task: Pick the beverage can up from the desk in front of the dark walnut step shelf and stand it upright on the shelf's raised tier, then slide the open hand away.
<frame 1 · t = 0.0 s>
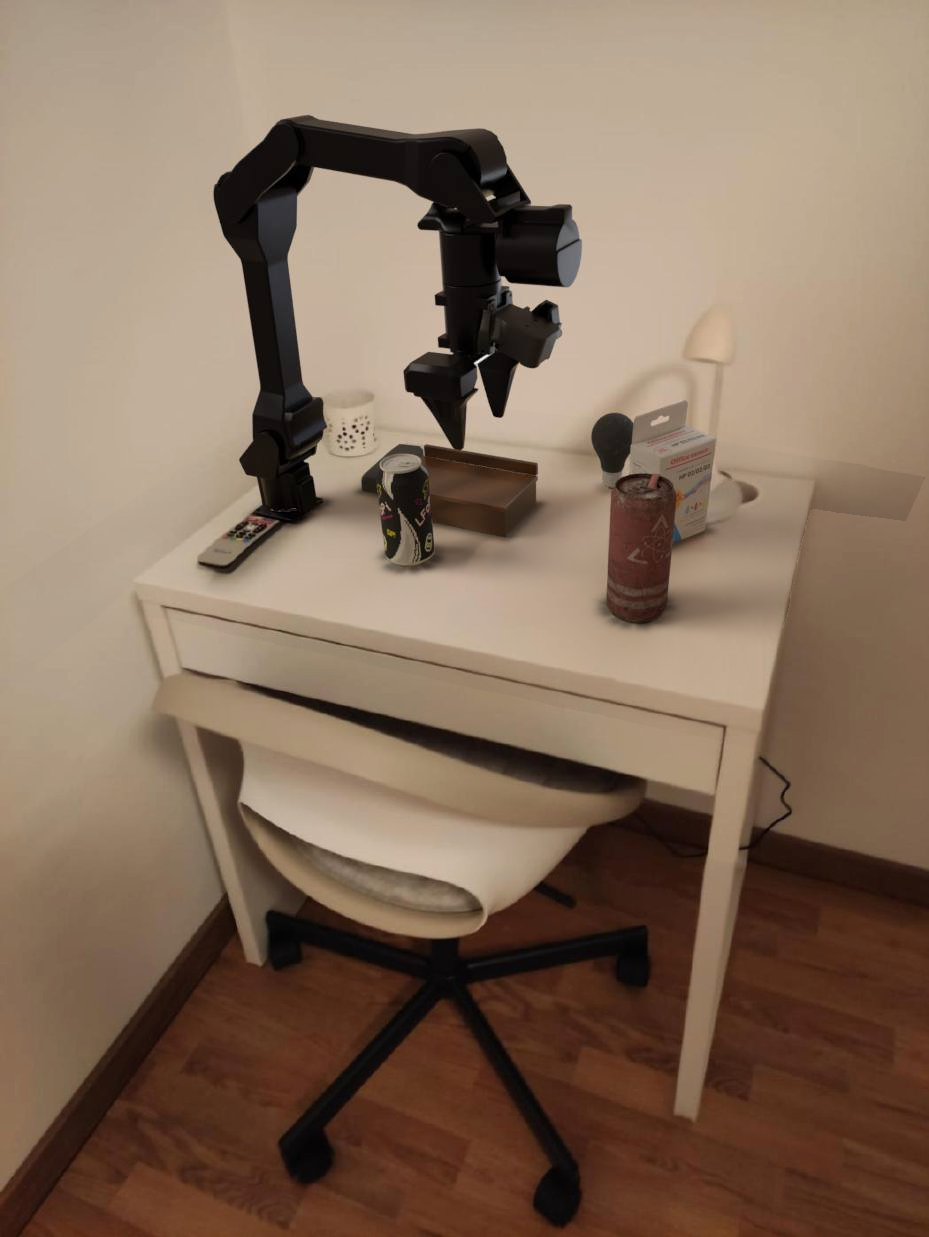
hand: (479, 432, 94), 15 cm above the table, tool pointing down, fingers open, 9 cm apart
can: (636, 608, 91), on the table
beverage can: (410, 559, 102), on the table
step shelf: (463, 509, 111), on the table
light bulb: (611, 489, 114), on the table
ink box: (665, 535, 103), on the table
usb drive: (399, 476, 120), on the table
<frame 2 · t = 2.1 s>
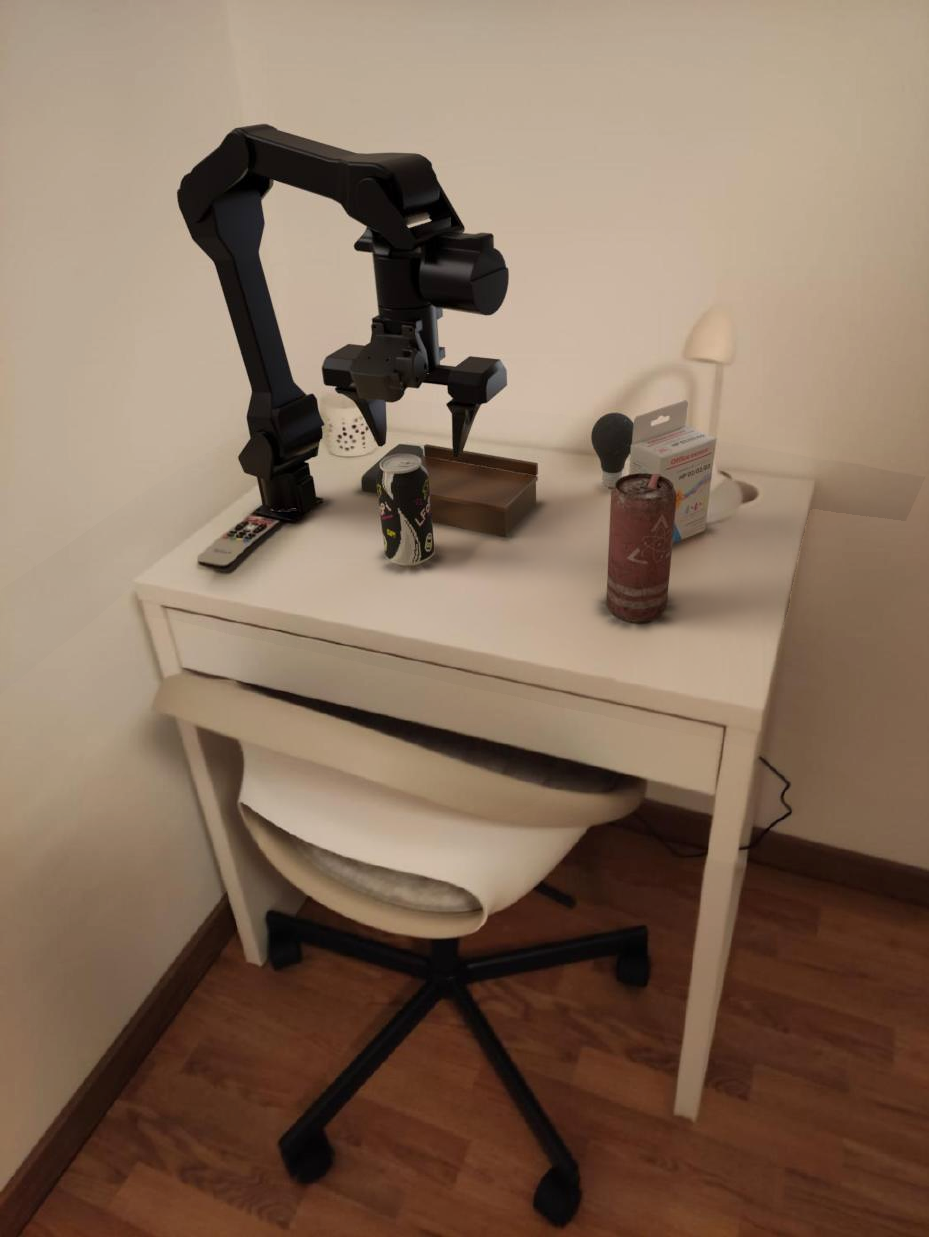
hand: (419, 450, 94), 13 cm above the table, tool pointing down, fingers open, 9 cm apart
nothing on the table moved.
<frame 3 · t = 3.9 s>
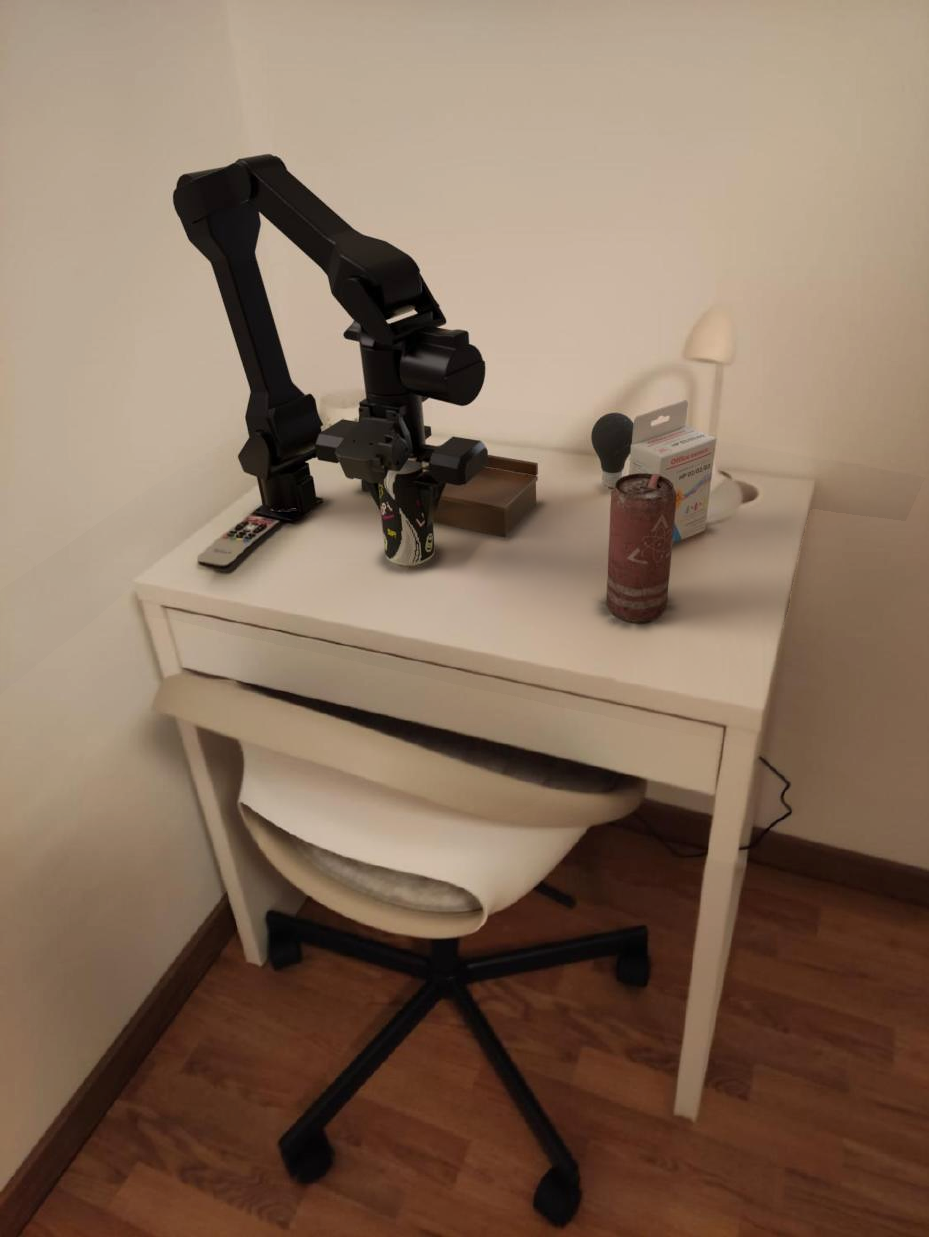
hand: (407, 521, 99), 5 cm above the table, tool pointing down, fingers closed on beverage can, 5 cm apart
beverage can: (410, 558, 102), on the table, touching gripper
everything else where it was.
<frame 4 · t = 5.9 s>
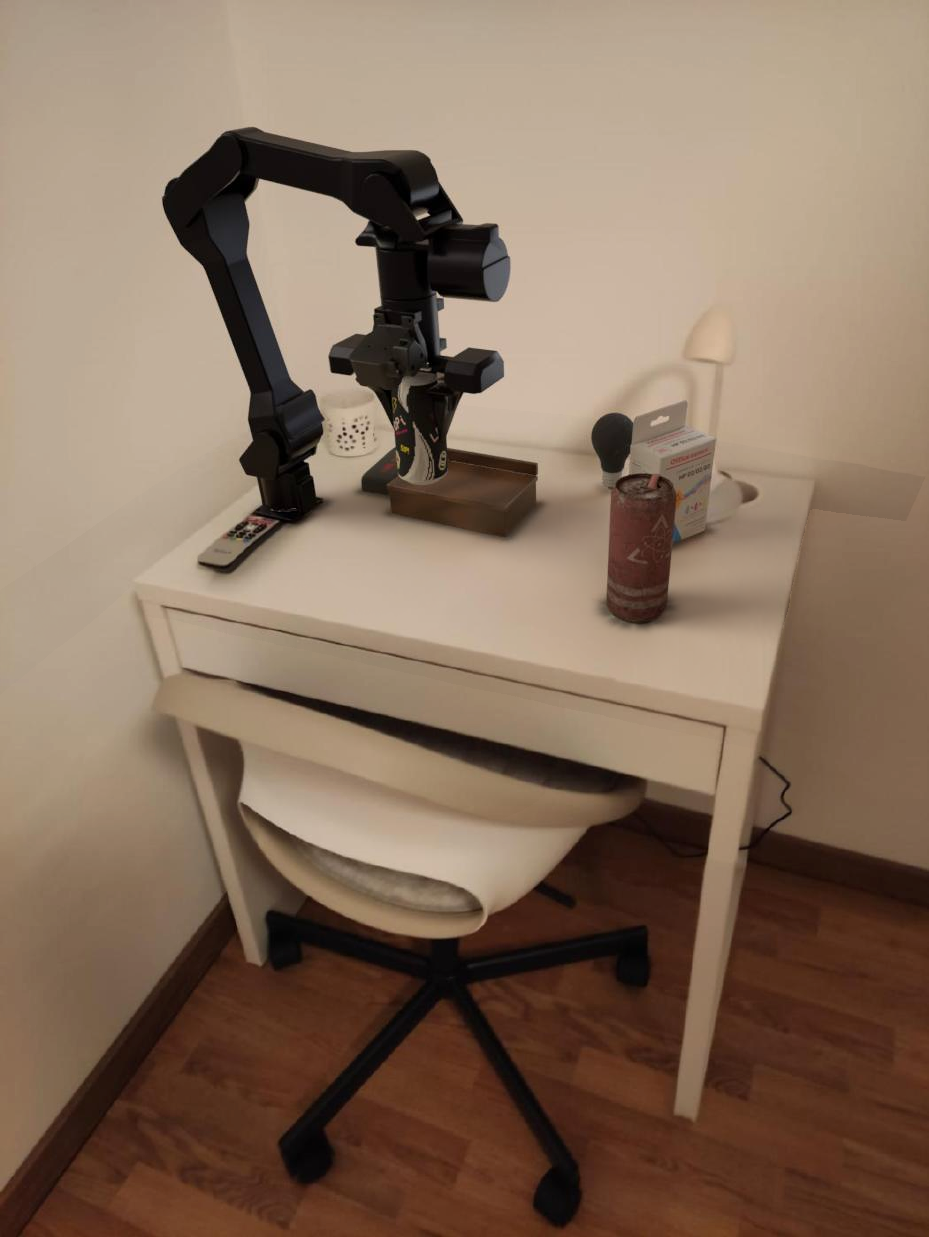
hand: (420, 438, 98), 13 cm above the table, tool pointing down, fingers closed on beverage can, 5 cm apart
beverage can: (423, 478, 100), point 8 cm above the table, touching gripper
everything else where it was.
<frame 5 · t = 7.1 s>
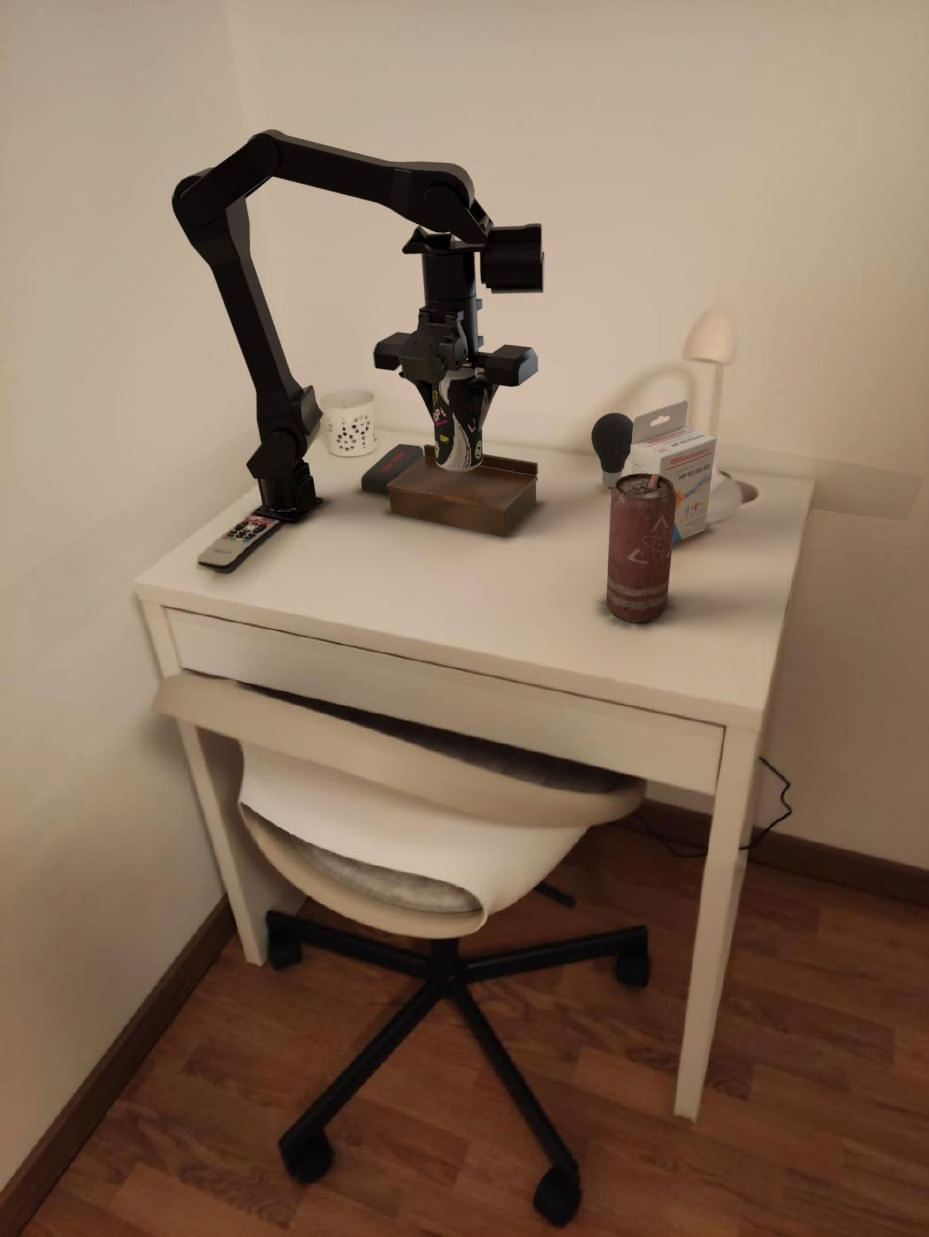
hand: (457, 429, 105), 11 cm above the table, tool pointing down, fingers closed on beverage can, 5 cm apart
beverage can: (459, 467, 108), point 6 cm above the table, touching gripper
everything else where it was.
when the fingers open (9 cm above the table, at t = 8.2 s): beverage can stays where it is, resting on step shelf.
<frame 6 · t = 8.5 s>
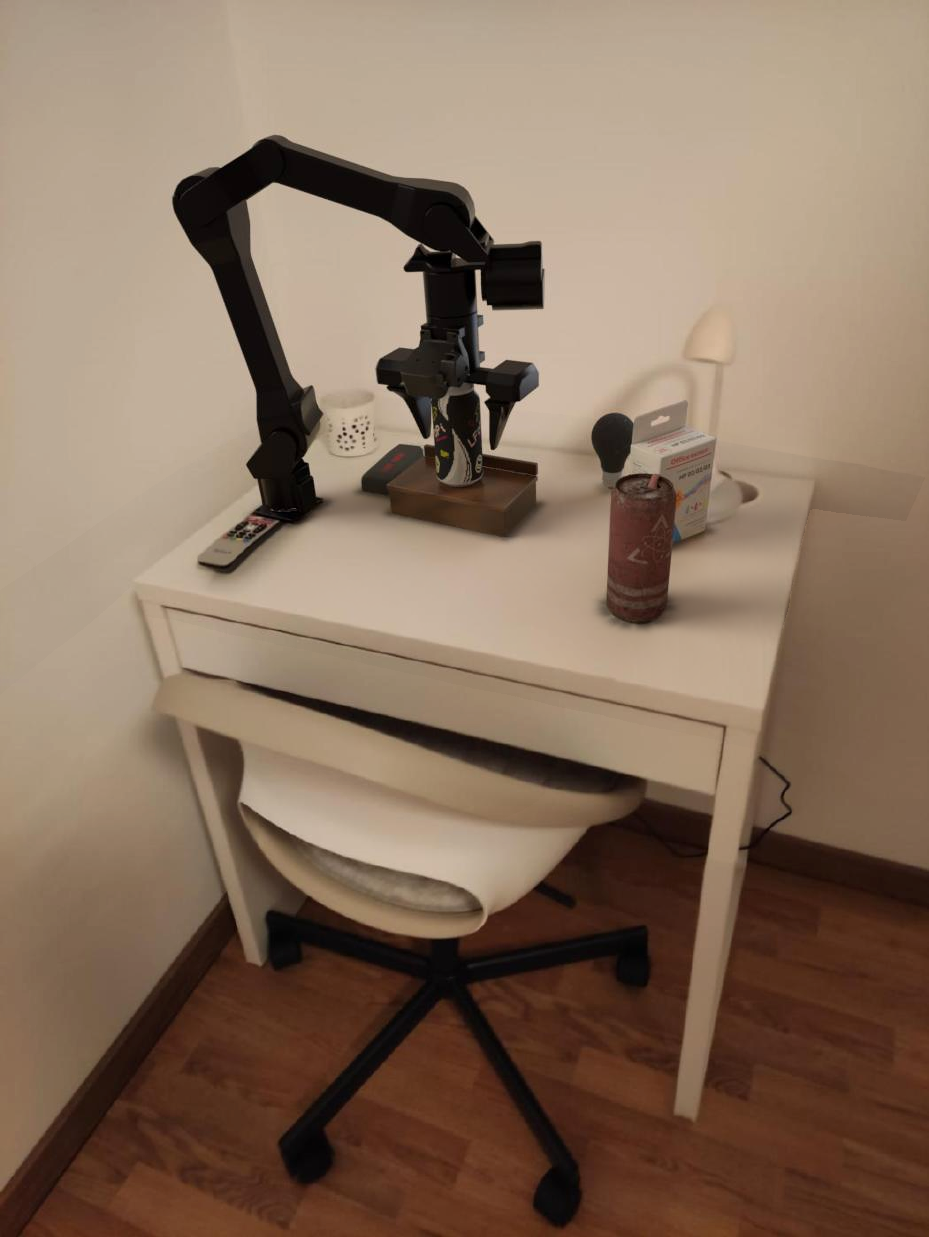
hand: (459, 443, 106), 9 cm above the table, tool pointing down, fingers open, 9 cm apart
beverage can: (460, 481, 109), point 4 cm above the table, touching step shelf
everything else where it was.
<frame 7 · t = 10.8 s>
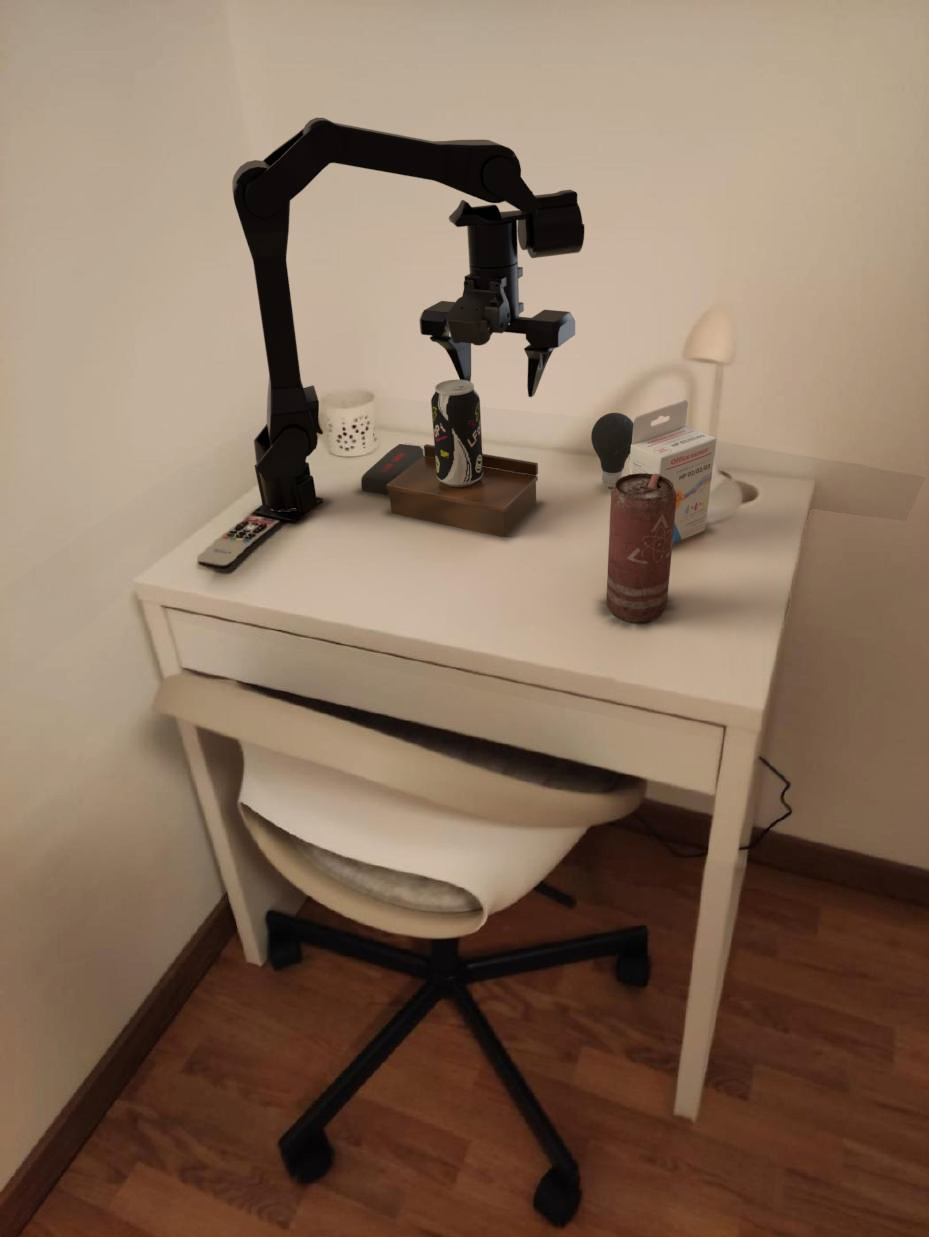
hand: (498, 391, 112), 12 cm above the table, tool pointing down, fingers open, 9 cm apart
nothing on the table moved.
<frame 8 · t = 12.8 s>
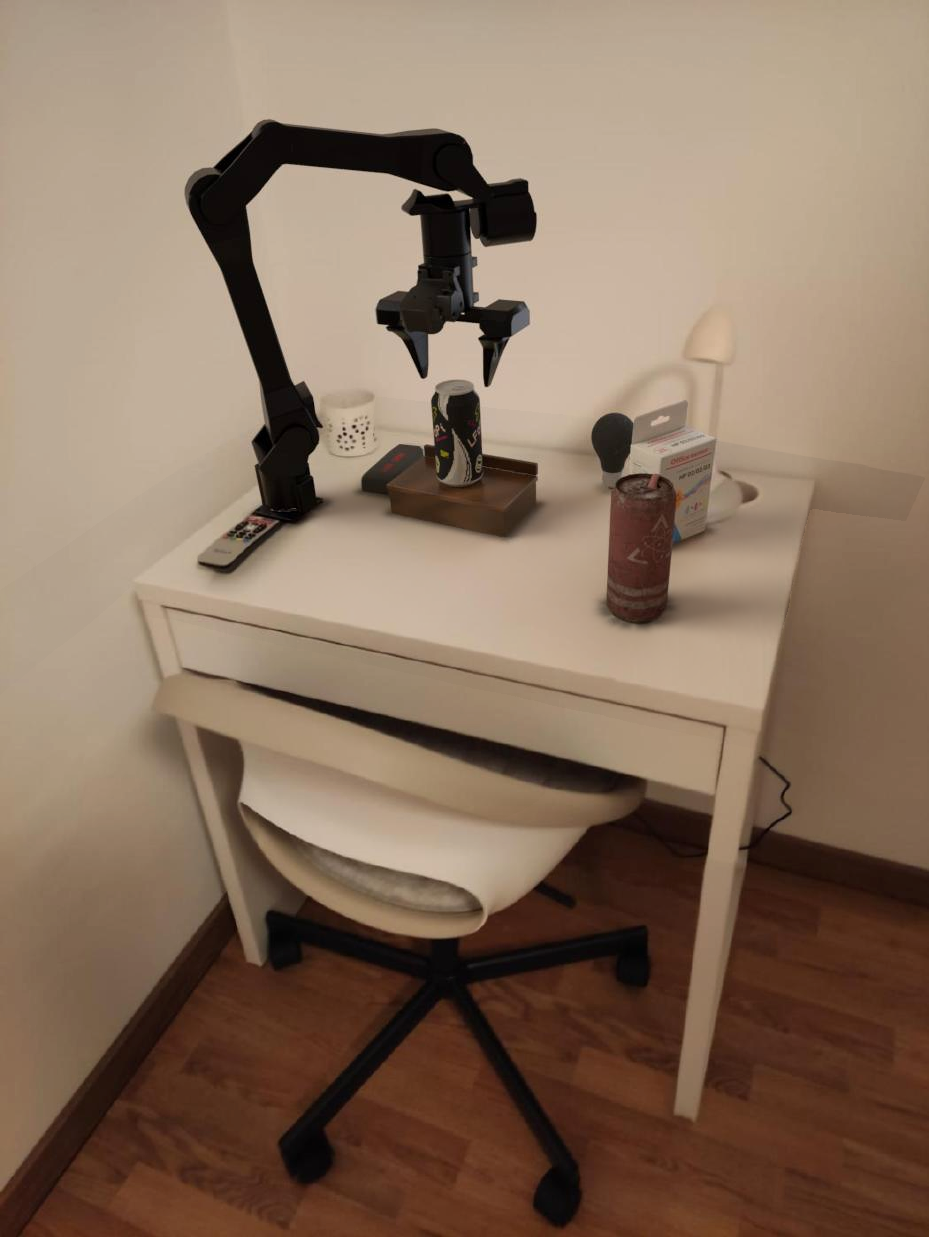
hand: (455, 382, 112), 13 cm above the table, tool pointing down, fingers open, 9 cm apart
nothing on the table moved.
at the end: beverage can inside the target area on the step shelf (0.3 cm from its centre), point 3.8 cm above the step shelf's base; beverage can tilted 0°; the gripper is holding nothing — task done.
